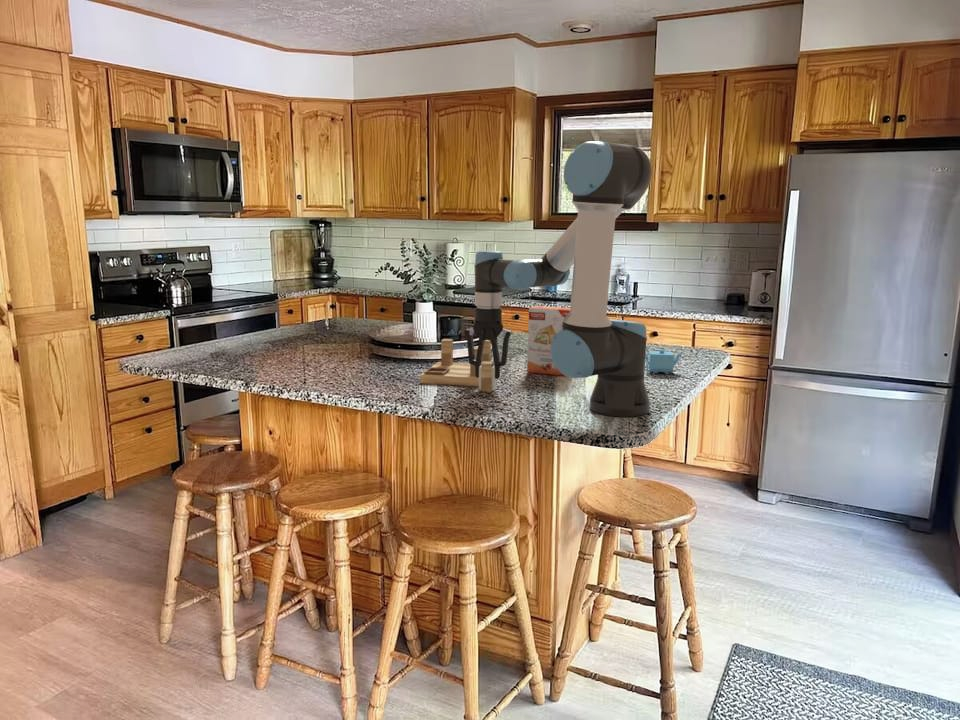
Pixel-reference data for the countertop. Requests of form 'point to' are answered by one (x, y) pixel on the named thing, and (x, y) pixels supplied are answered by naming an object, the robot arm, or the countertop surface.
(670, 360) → the teapot
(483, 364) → the loose leg
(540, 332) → the cracker box
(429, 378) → the seat
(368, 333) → the countertop surface
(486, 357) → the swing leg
